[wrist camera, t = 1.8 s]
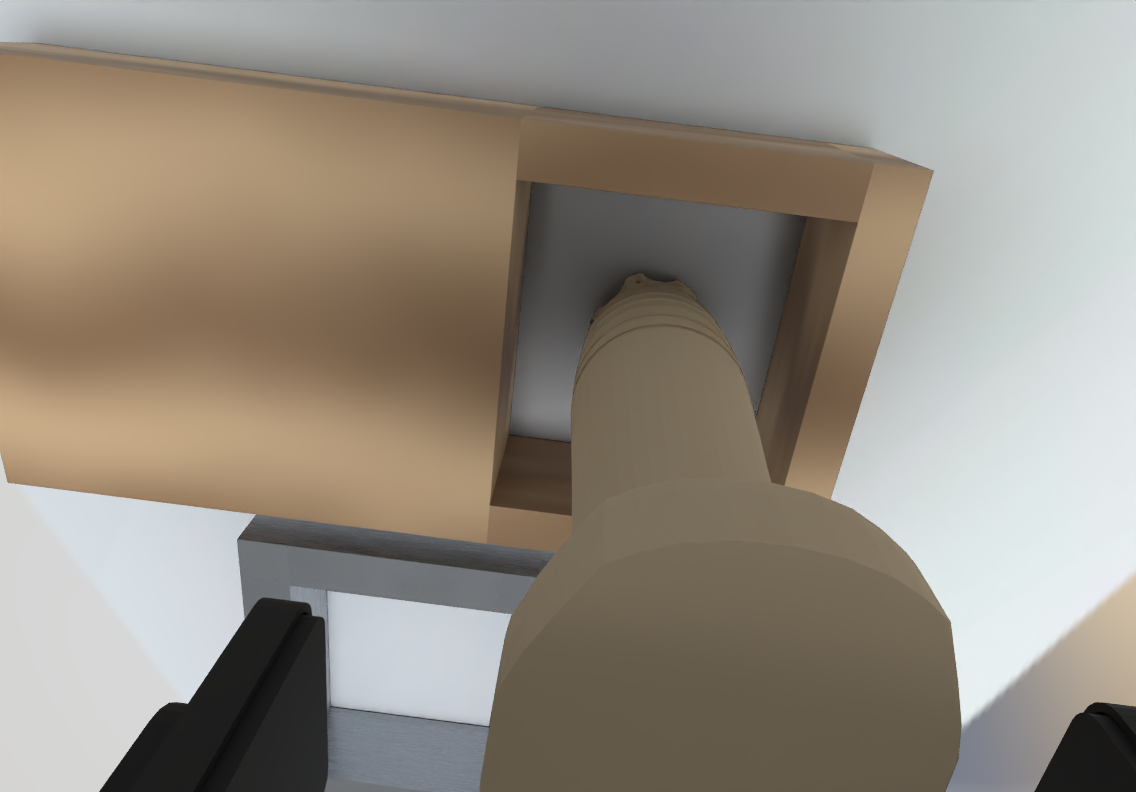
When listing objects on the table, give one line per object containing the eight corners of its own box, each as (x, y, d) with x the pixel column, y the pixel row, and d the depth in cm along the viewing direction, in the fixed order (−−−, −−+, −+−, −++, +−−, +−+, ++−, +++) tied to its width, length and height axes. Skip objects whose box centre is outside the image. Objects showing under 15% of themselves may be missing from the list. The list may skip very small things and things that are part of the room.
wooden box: (33, 42, 19) (-102, 40, 16) (873, 148, 19) (933, 170, 16) (99, 417, 24) (7, 482, 20) (774, 503, 24) (803, 583, 20)
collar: (278, 485, 25) (237, 539, 22) (591, 525, 25) (588, 584, 22) (294, 729, 29) (261, 797, 27) (554, 762, 29) (548, 835, 27)
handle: (549, 406, 23) (456, 927, 9) (585, 198, 20) (526, 500, 6) (703, 433, 23) (834, 987, 9) (759, 228, 20) (1058, 591, 7)
